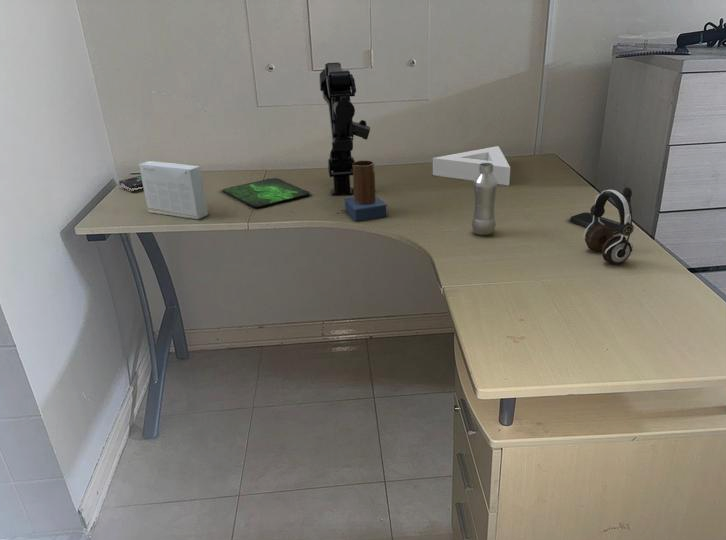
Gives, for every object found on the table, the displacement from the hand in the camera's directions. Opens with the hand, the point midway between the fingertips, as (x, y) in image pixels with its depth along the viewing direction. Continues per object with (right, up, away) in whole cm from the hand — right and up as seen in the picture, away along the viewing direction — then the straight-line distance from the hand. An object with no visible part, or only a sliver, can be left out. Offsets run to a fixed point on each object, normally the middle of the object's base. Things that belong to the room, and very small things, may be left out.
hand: (344, 165), depth 204 cm
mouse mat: (-29, -4, +20) cm, 36 cm away
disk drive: (-76, +1, +32) cm, 82 cm away
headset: (+71, -34, -36) cm, 86 cm away
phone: (+75, -22, -16) cm, 80 cm away
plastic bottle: (+41, -25, -19) cm, 52 cm away
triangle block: (+43, +6, +33) cm, 55 cm away
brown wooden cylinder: (+7, -12, -3) cm, 14 cm away
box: (+7, -16, -1) cm, 17 cm away
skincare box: (-55, -15, +4) cm, 57 cm away
